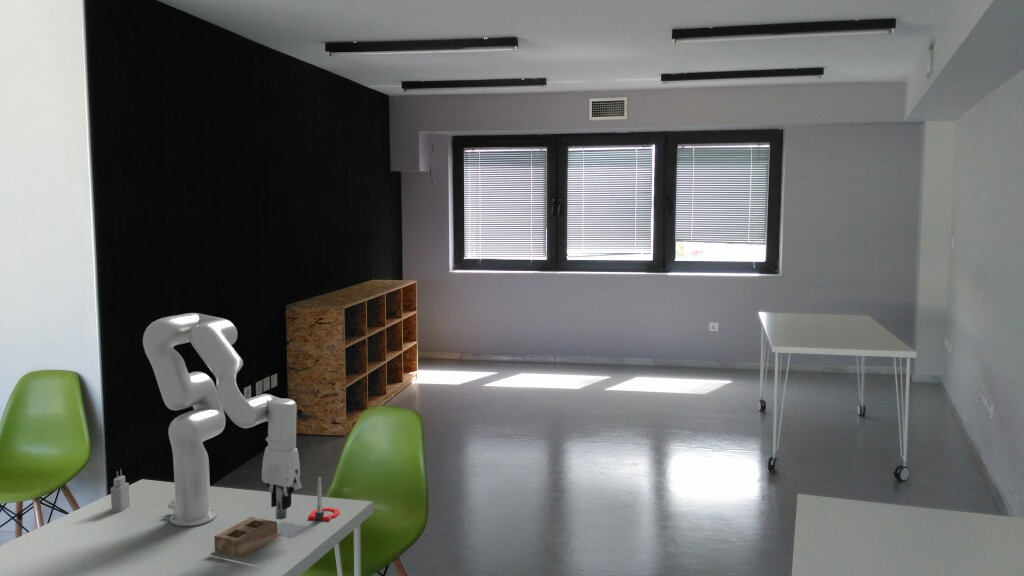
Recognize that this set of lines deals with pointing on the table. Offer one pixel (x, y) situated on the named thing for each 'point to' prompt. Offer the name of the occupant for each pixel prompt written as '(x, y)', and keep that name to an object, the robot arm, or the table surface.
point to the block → (245, 536)
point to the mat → (290, 529)
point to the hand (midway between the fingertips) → (281, 506)
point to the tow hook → (318, 513)
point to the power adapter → (120, 494)
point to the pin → (280, 503)
